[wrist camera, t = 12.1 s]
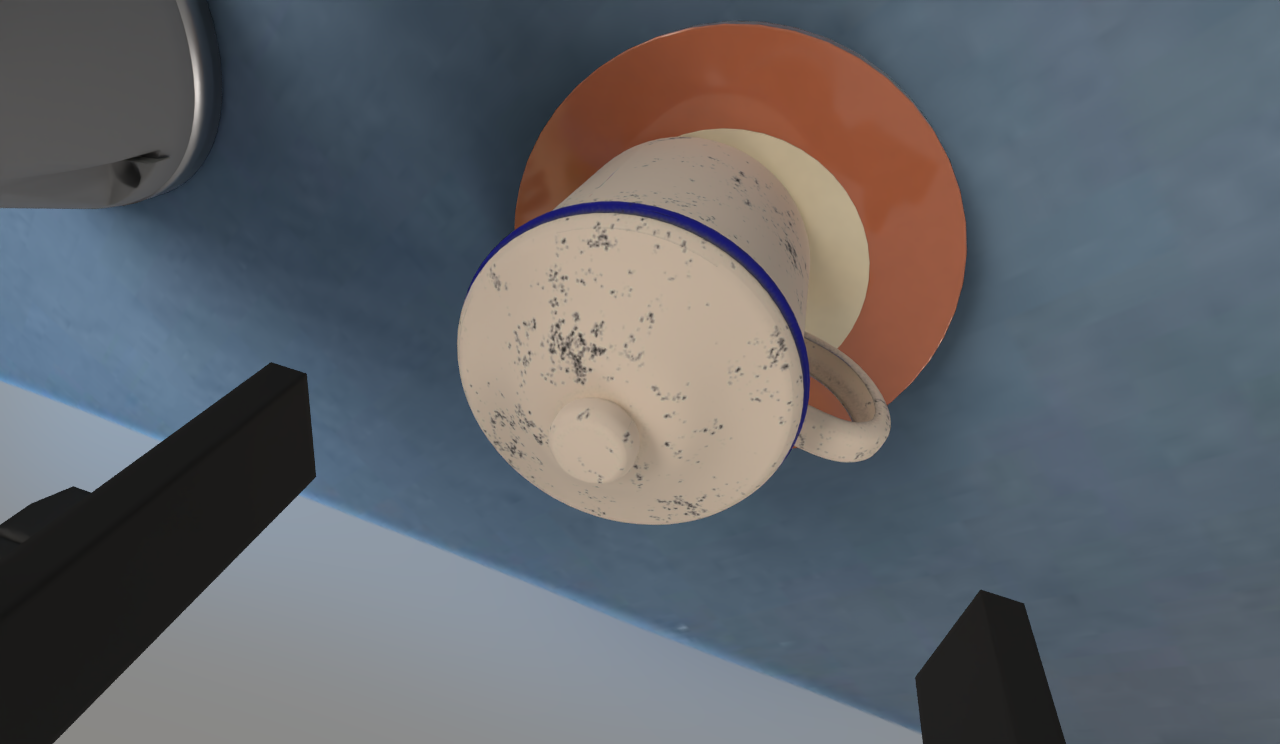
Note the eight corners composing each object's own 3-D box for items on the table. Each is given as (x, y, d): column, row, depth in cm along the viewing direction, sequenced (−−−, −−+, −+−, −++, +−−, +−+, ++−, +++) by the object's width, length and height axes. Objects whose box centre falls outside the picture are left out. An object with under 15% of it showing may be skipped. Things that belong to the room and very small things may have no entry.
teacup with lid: (537, 307, 27) (369, 502, 17) (612, 78, 22) (434, 171, 12) (813, 436, 27) (800, 704, 17) (952, 236, 22) (1046, 456, 12)
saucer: (514, 363, 31) (495, 387, 29) (561, -34, 22) (538, -34, 21) (856, 471, 30) (858, 503, 28) (1050, 89, 21) (1070, 101, 19)
